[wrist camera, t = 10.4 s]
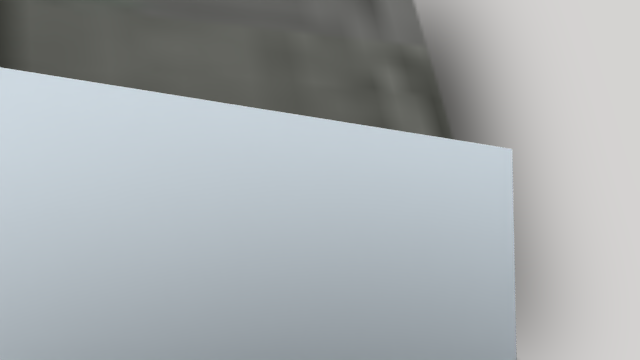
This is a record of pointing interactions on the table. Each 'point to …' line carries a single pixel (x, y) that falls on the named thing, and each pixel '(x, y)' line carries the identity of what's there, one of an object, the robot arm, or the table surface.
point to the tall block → (243, 233)
